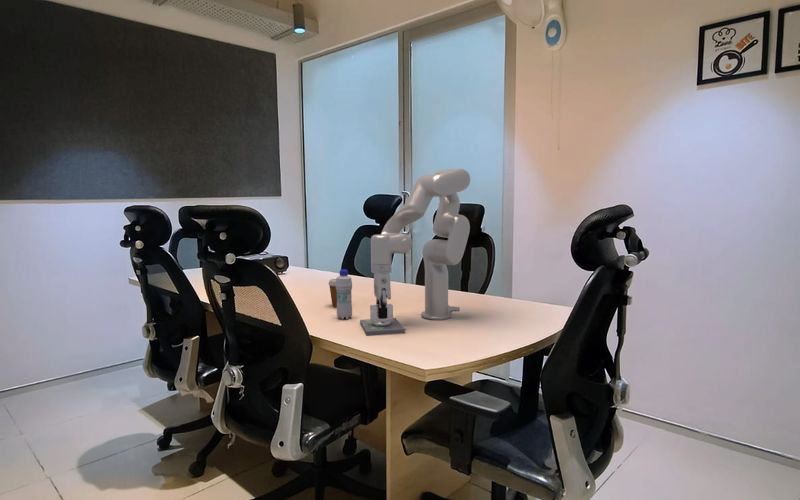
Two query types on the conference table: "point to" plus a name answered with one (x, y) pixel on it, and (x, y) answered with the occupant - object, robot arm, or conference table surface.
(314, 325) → the conference table surface
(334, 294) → the disposable coffee cup
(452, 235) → the robot arm
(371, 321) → the knob
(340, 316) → the bottle
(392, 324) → the dial board
